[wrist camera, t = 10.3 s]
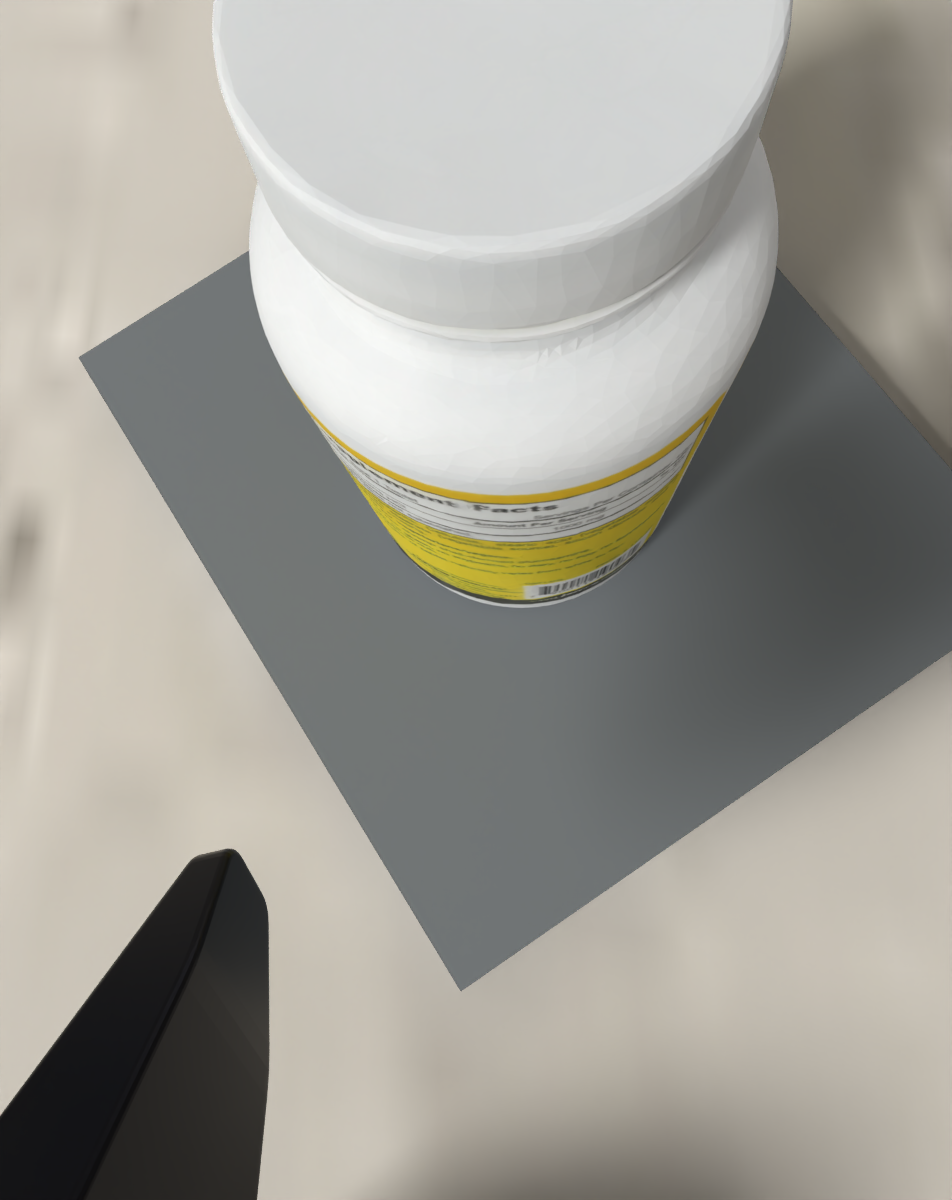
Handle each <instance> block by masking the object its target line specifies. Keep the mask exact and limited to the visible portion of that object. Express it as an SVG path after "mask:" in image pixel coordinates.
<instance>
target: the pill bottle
mask: <svg viewBox="0 0 952 1200" xmlns="http://www.w3.org/2000/svg"><path fill="white" fill-rule="evenodd" d="M792 2H793V0H214V3H213V22H212V39H213V49H214V59H215V65H216V70H217V75H218V80H219V86H220V90H221V92H222V95H223V98H224V101H225V104H226V106H227V109H228V112H229V114H230V117H231V119H232V122H233V124H234V127H235V129H236V132H237V134H238V136H239V139H240V141H241V143H242V146H243V148H244V150H245V153H246V155H247V157H248V160H249V162H250V164H251V167H252V169H253V171H254V174H255V176H256V178H257V181H258V183H257V186H256V191H255V196H254V201H253V207H252V215H251V223H250V234H249V258H250V272H251V280H252V286H253V292H254V297H255V301H256V305H257V309H258V313H259V316H260V320H261V323H262V326H263V329H264V332H265V335H266V337H267V339H268V342H269V344H270V346H271V348H272V351H273V353H274V355H275V357H276V359H277V361H278V363H279V365H280V367H281V369H282V371H283V373H284V375H285V377H286V378H287V380H288V382H289V383H290V385H291V387H292V389H293V390H294V392H295V393H296V395H297V396H298V398H299V400H300V401H301V403H302V404H303V406H304V407H305V409H306V410H307V412H308V413H309V415H310V416H311V417H312V419H313V420H314V422H315V423H316V425H317V426H318V428H319V429H320V431H321V432H322V434H323V435H324V437H325V438H326V440H327V441H328V443H329V444H330V446H331V447H332V449H333V451H334V452H335V454H336V455H337V456H338V457H339V459H340V460H341V462H342V463H343V465H344V467H345V468H346V470H347V471H348V472H349V474H350V475H351V477H352V478H353V480H354V482H355V483H356V485H357V486H358V488H359V489H360V491H361V492H362V494H363V495H364V496H365V498H366V499H367V501H368V502H369V504H370V505H371V507H372V508H373V510H374V511H375V513H376V514H377V516H378V517H379V519H380V521H381V522H382V524H383V525H384V527H385V528H386V529H387V531H388V532H389V534H390V535H391V537H392V538H393V540H394V541H395V542H396V544H397V545H398V546H399V548H400V549H401V551H402V552H403V553H404V554H405V555H406V556H407V557H408V558H409V559H410V560H411V561H412V562H413V563H414V564H415V565H416V566H417V567H418V568H419V569H420V570H422V571H423V572H424V573H425V574H426V575H427V576H429V577H430V578H431V579H433V580H434V581H435V582H437V583H438V584H440V585H442V586H443V587H445V588H447V589H449V590H450V591H452V592H455V593H457V594H459V595H461V596H463V597H466V598H468V599H471V600H474V601H478V602H481V603H485V604H490V605H495V606H503V607H512V608H529V607H541V606H548V605H553V604H557V603H560V602H564V601H567V600H570V599H574V598H576V597H579V596H581V595H583V594H585V593H587V592H589V591H591V590H593V589H595V588H597V587H599V586H601V585H602V584H604V583H605V582H607V581H608V580H609V579H611V578H612V577H614V576H615V575H616V574H618V573H619V572H620V571H621V570H622V569H623V568H625V567H626V566H627V565H628V564H629V563H630V562H631V561H632V560H633V559H634V558H635V556H636V555H637V554H638V553H639V552H640V551H641V549H642V548H643V547H644V545H645V544H646V543H647V541H648V540H649V538H650V537H651V535H652V534H653V532H654V530H655V529H656V527H657V526H658V524H659V522H660V520H661V518H662V516H663V514H664V513H665V511H666V510H667V507H668V505H669V503H670V501H671V499H672V497H673V495H674V493H675V491H676V489H677V487H678V485H679V483H680V481H681V480H682V478H683V476H684V474H685V472H686V470H687V468H688V466H689V464H690V462H691V460H692V458H693V456H694V454H695V452H696V450H697V448H698V446H699V444H700V442H701V440H702V439H703V437H704V435H705V433H706V431H707V429H708V427H709V425H710V423H711V421H712V420H713V418H714V416H715V414H716V412H717V410H718V408H719V406H720V405H721V403H722V401H723V399H724V397H725V395H726V394H727V392H728V390H729V388H730V386H731V384H732V383H733V381H734V379H735V377H736V375H737V373H738V372H739V370H740V368H741V366H742V364H743V362H744V360H745V358H746V356H747V354H748V352H749V350H750V348H751V346H752V344H753V342H754V340H755V338H756V335H757V333H758V330H759V328H760V325H761V322H762V320H763V317H764V315H765V312H766V309H767V306H768V303H769V299H770V295H771V291H772V287H773V283H774V278H775V271H776V264H777V256H778V209H777V201H776V194H775V188H774V182H773V177H772V174H771V170H770V167H769V163H768V160H767V157H766V153H765V150H764V146H763V144H762V142H761V140H760V137H759V134H760V131H761V128H762V125H763V122H764V119H765V116H766V112H767V109H768V106H769V103H770V100H771V97H772V94H773V91H774V88H775V85H776V82H777V80H778V77H779V74H780V71H781V68H782V64H783V60H784V57H785V53H786V48H787V43H788V39H789V34H790V26H791V16H792Z"/></svg>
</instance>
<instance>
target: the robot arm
mask: <svg viewBox="0 0 952 1200" xmlns="http://www.w3.org/2000/svg"><path fill="white" fill-rule="evenodd" d="M268 1078H269V923H268V911H267V906H266V902H265V899H264V897H263V894H262V893H261V891H260V889H259V887H258V885H257V884H256V882H255V880H254V878H253V876H252V875H251V873H250V871H249V869H248V868H247V866H246V864H245V862H244V860H243V859H242V857H241V856H240V854H239V853H238V852H237V851H236V850H234V849H224V850H219V851H215V852H211V853H206V854H202V855H198V856H196V857H194V858H193V859H192V860H191V861H190V862H189V863H188V864H187V865H186V867H185V868H184V869H183V871H182V872H181V874H180V875H179V876H178V878H177V879H176V880H175V882H174V883H173V884H172V886H171V887H170V888H169V890H168V891H167V892H166V894H165V895H164V896H163V898H162V899H161V900H160V902H159V903H158V904H157V906H156V907H155V908H154V910H153V911H152V912H151V914H150V915H149V917H148V918H147V919H146V921H145V922H144V923H143V925H142V926H141V927H140V929H139V930H138V931H137V933H136V934H135V935H134V937H133V938H132V939H131V941H130V942H129V943H128V945H127V946H126V947H125V949H124V950H123V951H122V953H121V954H120V956H119V957H118V958H117V960H116V961H115V962H114V964H113V965H112V966H111V968H110V969H109V970H108V972H107V973H106V974H105V976H104V977H103V978H102V980H101V981H100V982H99V984H98V985H97V986H96V988H95V989H94V990H93V992H92V993H91V994H90V996H89V997H88V999H87V1000H86V1001H85V1003H84V1004H83V1005H82V1007H81V1008H80V1009H79V1011H78V1012H77V1013H76V1015H75V1016H74V1017H73V1019H72V1020H71V1021H70V1023H69V1024H68V1025H67V1027H66V1028H65V1029H64V1031H63V1032H62V1033H61V1035H60V1036H59V1038H58V1039H57V1040H56V1042H55V1043H54V1044H53V1046H52V1047H51V1048H50V1050H49V1051H48V1052H47V1054H46V1055H45V1056H44V1058H43V1059H42V1060H41V1062H40V1063H39V1064H38V1066H37V1067H36V1068H35V1070H34V1071H33V1072H32V1074H31V1075H30V1077H29V1078H28V1079H27V1081H26V1082H25V1083H24V1085H23V1086H22V1087H21V1089H20V1090H19V1091H18V1093H17V1094H16V1095H15V1097H14V1098H13V1099H12V1101H11V1102H10V1103H9V1105H8V1106H7V1107H6V1109H5V1110H4V1111H3V1113H2V1114H1V1115H0V1200H257V1194H258V1184H259V1174H260V1164H261V1154H262V1144H263V1134H264V1123H265V1113H266V1103H267V1092H268Z"/></svg>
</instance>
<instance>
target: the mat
mask: <svg viewBox="0 0 952 1200" xmlns="http://www.w3.org/2000/svg"><path fill="white" fill-rule="evenodd" d="M79 359H80V361H81V362H82V364H83V366H84V367H85V369H86V371H87V372H88V374H89V376H90V377H91V379H92V381H93V382H94V384H95V386H96V387H97V389H98V391H99V392H100V394H101V396H102V397H103V399H104V401H105V402H106V404H107V405H108V407H109V409H110V410H111V412H112V414H113V415H114V417H115V419H116V420H117V422H118V424H119V425H120V427H121V429H122V430H123V432H124V434H125V435H126V437H127V439H128V440H129V442H130V444H131V445H132V447H133V449H134V450H135V452H136V454H137V455H138V457H139V459H140V460H141V462H142V464H143V465H144V467H145V469H146V470H147V472H148V473H149V475H150V477H151V478H152V480H153V482H154V483H155V485H156V487H157V488H158V490H159V492H160V493H161V495H162V497H163V498H164V500H165V502H166V503H167V505H168V507H169V508H170V510H171V512H172V513H173V515H174V517H175V518H176V520H177V522H178V523H179V525H180V527H181V528H182V530H183V532H184V533H185V535H186V537H187V538H188V540H189V541H190V543H191V545H192V546H193V548H194V550H195V551H196V553H197V555H198V556H199V558H200V560H201V561H202V563H203V565H204V566H205V568H206V570H207V571H208V573H209V575H210V576H211V578H212V580H213V581H214V583H215V585H216V586H217V588H218V590H219V591H220V593H221V595H222V596H223V598H224V600H225V601H226V603H227V605H228V606H229V608H230V609H231V611H232V613H233V614H234V616H235V618H236V619H237V621H238V623H239V624H240V626H241V628H242V629H243V631H244V633H245V634H246V636H247V638H248V639H249V641H250V643H251V644H252V646H253V648H254V649H255V651H256V653H257V654H258V656H259V658H260V659H261V661H262V663H263V664H264V666H265V668H266V669H267V671H268V673H269V674H270V676H271V677H272V679H273V681H274V682H275V684H276V686H277V687H278V689H279V691H280V692H281V694H282V696H283V697H284V699H285V701H286V702H287V704H288V706H289V707H290V709H291V711H292V712H293V714H294V716H295V717H296V719H297V721H298V722H299V724H300V726H301V727H302V729H303V731H304V732H305V734H306V736H307V737H308V739H309V741H310V742H311V744H312V745H313V747H314V749H315V750H316V752H317V754H318V755H319V757H320V759H321V760H322V762H323V764H324V765H325V767H326V769H327V770H328V772H329V774H330V775H331V777H332V779H333V780H334V782H335V784H336V785H337V787H338V789H339V790H340V792H341V794H342V795H343V797H344V799H345V800H346V802H347V804H348V805H349V807H350V809H351V810H352V812H353V813H354V815H355V817H356V818H357V820H358V822H359V823H360V825H361V827H362V828H363V830H364V832H365V833H366V835H367V837H368V838H369V840H370V842H371V843H372V845H373V847H374V848H375V850H376V852H377V853H378V855H379V857H380V858H381V860H382V862H383V863H384V865H385V867H386V868H387V870H388V872H389V873H390V875H391V877H392V878H393V880H394V881H395V883H396V885H397V886H398V888H399V890H400V891H401V893H402V895H403V896H404V898H405V900H406V901H407V903H408V905H409V906H410V908H411V910H412V911H413V913H414V915H415V916H416V918H417V920H418V921H419V923H420V925H421V926H422V928H423V930H424V931H425V933H426V935H427V936H428V938H429V940H430V941H431V943H432V945H433V946H434V948H435V949H436V951H437V953H438V954H439V956H440V958H441V959H442V961H443V963H444V964H445V966H446V968H447V969H448V971H449V973H450V974H451V976H452V978H453V979H454V981H455V983H456V984H457V986H458V988H459V989H460V991H462V990H463V989H465V988H466V987H468V986H469V985H471V984H472V983H473V982H475V981H476V980H478V979H479V978H481V977H482V976H484V975H485V974H486V973H488V972H489V971H491V970H492V969H494V968H495V967H496V966H498V965H499V964H501V963H502V962H504V961H505V960H507V959H508V958H509V957H511V956H512V955H514V954H515V953H517V952H518V951H520V950H521V949H522V948H524V947H525V946H527V945H528V944H530V943H531V942H532V941H534V940H535V939H537V938H538V937H540V936H541V935H543V934H544V933H545V932H547V931H548V930H550V929H551V928H553V927H554V926H556V925H557V924H558V923H560V922H561V921H563V920H564V919H566V918H567V917H568V916H570V915H571V914H573V913H574V912H576V911H577V910H579V909H580V908H581V907H583V906H584V905H586V904H587V903H589V902H590V901H592V900H593V899H594V898H596V897H597V896H599V895H600V894H602V893H603V892H604V891H606V890H607V889H609V888H610V887H612V886H613V885H615V884H616V883H617V882H619V881H620V880H622V879H623V878H625V877H626V876H627V875H629V874H630V873H632V872H633V871H635V870H636V869H638V868H639V867H640V866H642V865H643V864H645V863H646V862H648V861H649V860H651V859H652V858H653V857H655V856H656V855H658V854H659V853H661V852H662V851H663V850H665V849H666V848H668V847H669V846H671V845H672V844H674V843H675V842H676V841H678V840H679V839H681V838H682V837H684V836H685V835H687V834H688V833H689V832H691V831H692V830H694V829H695V828H697V827H698V826H699V825H701V824H702V823H704V822H705V821H707V820H708V819H710V818H711V817H712V816H714V815H715V814H717V813H718V812H720V811H721V810H723V809H724V808H725V807H727V806H728V805H730V804H731V803H733V802H734V801H735V800H737V799H738V798H740V797H741V796H743V795H744V794H746V793H747V792H748V791H750V790H751V789H753V788H754V787H756V786H757V785H759V784H760V783H761V782H763V781H764V780H766V779H767V778H769V777H770V776H771V775H773V774H774V773H776V772H777V771H779V770H780V769H782V768H783V767H784V766H786V765H787V764H789V763H790V762H792V761H793V760H794V759H796V758H797V757H799V756H800V755H802V754H803V753H805V752H806V751H807V750H809V749H810V748H812V747H813V746H815V745H816V744H818V743H819V742H820V741H822V740H823V739H825V738H826V737H828V736H829V735H830V734H832V733H833V732H835V731H836V730H838V729H839V728H841V727H842V726H843V725H845V724H846V723H848V722H849V721H851V720H852V719H854V718H855V717H856V716H858V715H859V714H861V713H862V712H864V711H865V710H866V709H868V708H869V707H871V706H872V705H874V704H875V703H877V702H878V701H879V700H881V699H882V698H884V697H885V696H887V695H888V694H890V693H891V692H892V691H894V690H895V689H897V688H898V687H900V686H901V685H902V684H904V683H905V682H907V681H908V680H910V679H911V678H913V677H914V676H915V675H917V674H918V673H920V672H921V671H923V670H924V669H925V668H927V667H928V666H930V665H931V664H933V663H934V662H936V661H937V660H938V659H940V658H941V657H943V656H944V655H946V654H947V653H949V652H950V651H951V650H952V470H951V469H950V468H949V466H948V465H947V464H946V463H945V462H944V461H943V459H942V458H941V457H940V456H939V455H938V454H937V452H936V451H935V450H934V449H933V448H932V447H931V446H930V444H929V443H928V442H927V441H926V440H925V439H924V437H923V436H922V435H921V434H920V433H919V432H918V430H917V429H916V428H915V427H914V426H913V425H912V423H911V422H910V421H909V420H908V419H907V418H906V417H905V415H904V414H903V413H902V412H901V411H900V410H899V408H898V407H897V406H896V405H895V404H894V403H893V401H892V400H891V399H890V398H889V397H888V396H887V394H886V393H885V392H884V391H883V390H882V389H881V388H880V386H879V385H878V384H877V383H876V382H875V381H874V379H873V378H872V377H871V376H870V375H869V374H868V372H867V371H866V370H865V369H864V368H863V367H862V365H861V364H860V363H859V362H858V361H857V360H856V359H855V357H854V356H853V355H852V354H851V353H850V352H849V350H848V349H847V348H846V347H845V346H844V345H843V343H842V342H841V341H840V340H839V339H838V338H837V336H836V335H835V334H834V333H833V332H832V331H831V330H830V328H829V327H828V326H827V325H826V324H825V323H824V321H823V320H822V319H821V318H820V317H819V316H818V314H817V313H816V312H815V311H814V310H813V309H812V307H811V306H810V305H809V304H808V303H807V302H806V300H805V299H804V298H803V297H802V296H801V295H800V294H799V292H798V291H797V290H796V289H795V288H794V287H793V285H792V284H791V283H790V282H789V281H788V280H787V278H786V277H785V276H784V275H783V274H782V273H781V271H780V270H779V269H778V268H777V267H776V271H775V278H774V283H773V287H772V291H771V295H770V299H769V303H768V306H767V309H766V312H765V315H764V317H763V320H762V322H761V325H760V328H759V330H758V333H757V335H756V338H755V340H754V342H753V344H752V346H751V348H750V350H749V352H748V354H747V356H746V358H745V360H744V362H743V364H742V366H741V368H740V370H739V372H738V373H737V375H736V377H735V379H734V381H733V383H732V384H731V386H730V388H729V390H728V392H727V394H726V395H725V397H724V399H723V401H722V403H721V405H720V406H719V408H718V410H717V412H716V414H715V416H714V418H713V420H712V421H711V423H710V425H709V427H708V429H707V431H706V433H705V435H704V437H703V439H702V440H701V442H700V444H699V446H698V448H697V450H696V452H695V454H694V456H693V458H692V460H691V462H690V464H689V466H688V468H687V470H686V472H685V474H684V476H683V478H682V480H681V481H680V483H679V485H678V487H677V489H676V491H675V493H674V495H673V497H672V499H671V501H670V503H669V505H668V507H667V510H666V511H665V513H664V514H663V516H662V518H661V520H660V522H659V524H658V526H657V527H656V529H655V530H654V532H653V534H652V535H651V537H650V538H649V540H648V541H647V543H646V544H645V545H644V547H643V548H642V549H641V551H640V552H639V553H638V554H637V555H636V556H635V558H634V559H633V560H632V561H631V562H630V563H629V564H628V565H627V566H626V567H625V568H623V569H622V570H621V571H620V572H619V573H618V574H616V575H615V576H614V577H612V578H611V579H609V580H608V581H607V582H605V583H604V584H602V585H601V586H599V587H597V588H595V589H593V590H591V591H589V592H587V593H585V594H583V595H581V596H579V597H576V598H574V599H570V600H567V601H564V602H560V603H557V604H553V605H548V606H541V607H529V608H512V607H503V606H495V605H490V604H485V603H481V602H478V601H474V600H471V599H468V598H466V597H463V596H461V595H459V594H457V593H455V592H452V591H450V590H449V589H447V588H445V587H443V586H442V585H440V584H438V583H437V582H435V581H434V580H433V579H431V578H430V577H429V576H427V575H426V574H425V573H424V572H423V571H422V570H420V569H419V568H418V567H417V566H416V565H415V564H414V563H413V562H412V561H411V560H410V559H409V558H408V557H407V556H406V555H405V554H404V553H403V552H402V551H401V549H400V548H399V546H398V545H397V544H396V542H395V541H394V540H393V538H392V537H391V535H390V534H389V532H388V531H387V529H386V528H385V527H384V525H383V524H382V522H381V521H380V519H379V517H378V516H377V514H376V513H375V511H374V510H373V508H372V507H371V505H370V504H369V502H368V501H367V499H366V498H365V496H364V495H363V494H362V492H361V491H360V489H359V488H358V486H357V485H356V483H355V482H354V480H353V478H352V477H351V475H350V474H349V472H348V471H347V470H346V468H345V467H344V465H343V463H342V462H341V460H340V459H339V457H338V456H337V455H336V454H335V452H334V451H333V449H332V447H331V446H330V444H329V443H328V441H327V440H326V438H325V437H324V435H323V434H322V432H321V431H320V429H319V428H318V426H317V425H316V423H315V422H314V420H313V419H312V417H311V416H310V415H309V413H308V412H307V410H306V409H305V407H304V406H303V404H302V403H301V401H300V400H299V398H298V396H297V395H296V393H295V392H294V390H293V389H292V387H291V385H290V383H289V382H288V380H287V378H286V377H285V375H284V373H283V371H282V369H281V367H280V365H279V363H278V361H277V359H276V357H275V355H274V353H273V351H272V348H271V346H270V344H269V342H268V339H267V337H266V335H265V332H264V329H263V326H262V323H261V320H260V316H259V313H258V309H257V305H256V301H255V297H254V292H253V286H252V280H251V272H250V258H249V251H248V252H246V253H244V254H243V255H241V256H240V257H238V258H236V259H235V260H233V261H232V262H230V263H228V264H227V265H225V266H224V267H222V268H221V269H219V270H217V271H216V272H214V273H213V274H211V275H209V276H208V277H206V278H205V279H203V280H201V281H200V282H198V283H197V284H195V285H193V286H192V287H190V288H189V289H187V290H185V291H184V292H182V293H181V294H179V295H177V296H176V297H174V298H173V299H171V300H169V301H168V302H166V303H165V304H163V305H161V306H160V307H158V308H157V309H155V310H154V311H152V312H150V313H149V314H147V315H146V316H144V317H142V318H141V319H139V320H138V321H136V322H134V323H133V324H131V325H130V326H128V327H126V328H125V329H123V330H122V331H120V332H118V333H117V334H115V335H114V336H112V337H110V338H109V339H107V340H106V341H104V342H102V343H101V344H99V345H98V346H96V347H94V348H93V349H91V350H90V351H88V352H87V353H85V354H83V355H82V356H80V357H79Z"/></svg>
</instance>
